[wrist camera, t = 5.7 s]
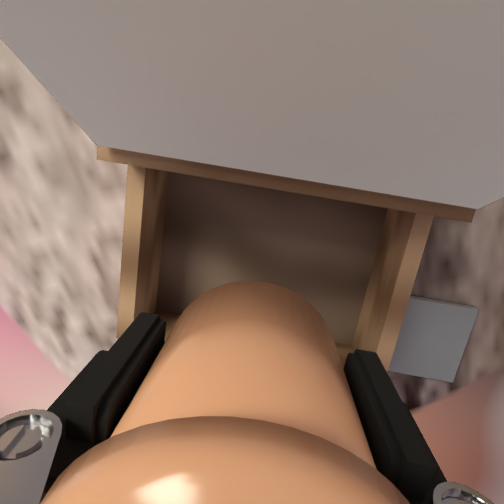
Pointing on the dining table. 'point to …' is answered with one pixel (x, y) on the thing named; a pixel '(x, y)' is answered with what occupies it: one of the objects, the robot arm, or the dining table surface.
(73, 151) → the dining table surface
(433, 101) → the lid
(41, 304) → the dining table surface
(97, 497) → the terracotta pot
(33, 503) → the robot arm
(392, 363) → the slate tile
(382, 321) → the open wooden box
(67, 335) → the dining table surface
